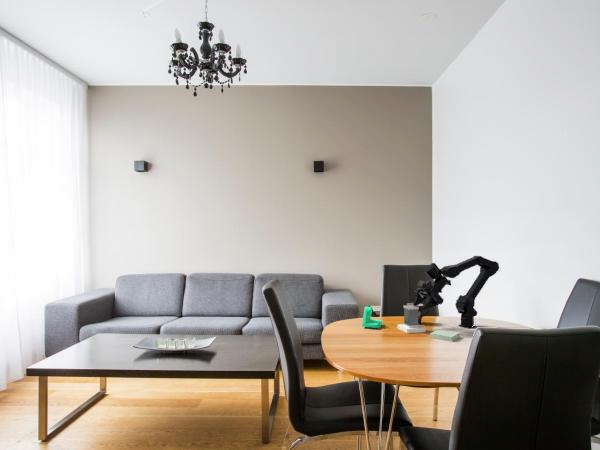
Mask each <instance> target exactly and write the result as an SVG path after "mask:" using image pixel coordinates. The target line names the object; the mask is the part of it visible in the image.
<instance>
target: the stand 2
mask: <svg viewBox="0 0 600 450" xmlns="http://www.w3.org/2000/svg"><path fill="white" fill-rule="evenodd" d="M429 336H430V337H429V338H431V339H436V340H441V341H447V342H454V341H456V340H458V339H459V338H461V333H460V332H456V331H450V330H444V329H437V330H435V331H432V332H430V333H429ZM457 338H458V339H457ZM455 339H456V340H455Z"/></svg>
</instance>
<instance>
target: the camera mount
mask: <svg viewBox="0 0 600 450" xmlns="http://www.w3.org/2000/svg"><path fill="white" fill-rule="evenodd" d="M372 314H373V307H372V306H364V309H363V315H362V322H361V324H362V327H365V328H374V329H379V328H380V327H381V325H382V323H383V321H382V320H381V319H373V318H372V317H371V316H372Z"/></svg>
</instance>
